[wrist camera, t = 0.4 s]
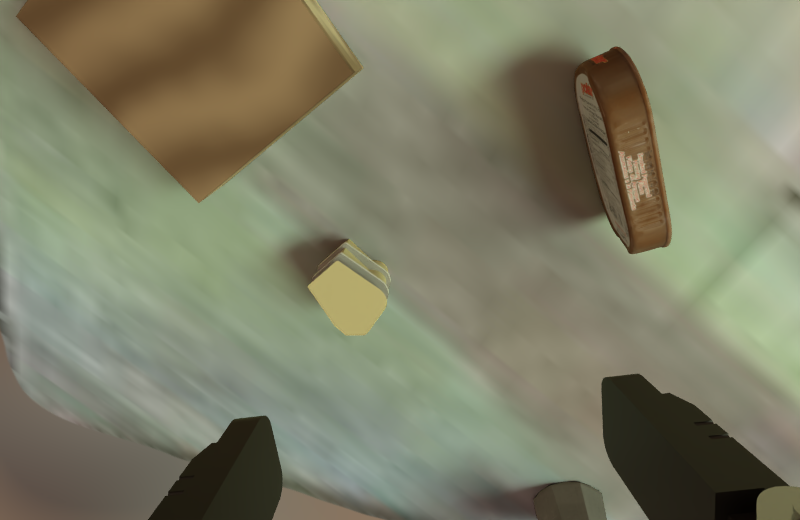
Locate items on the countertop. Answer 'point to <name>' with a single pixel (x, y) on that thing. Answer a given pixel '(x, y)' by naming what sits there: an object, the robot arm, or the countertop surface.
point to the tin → (623, 149)
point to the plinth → (199, 73)
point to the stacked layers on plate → (351, 289)
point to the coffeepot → (569, 502)
